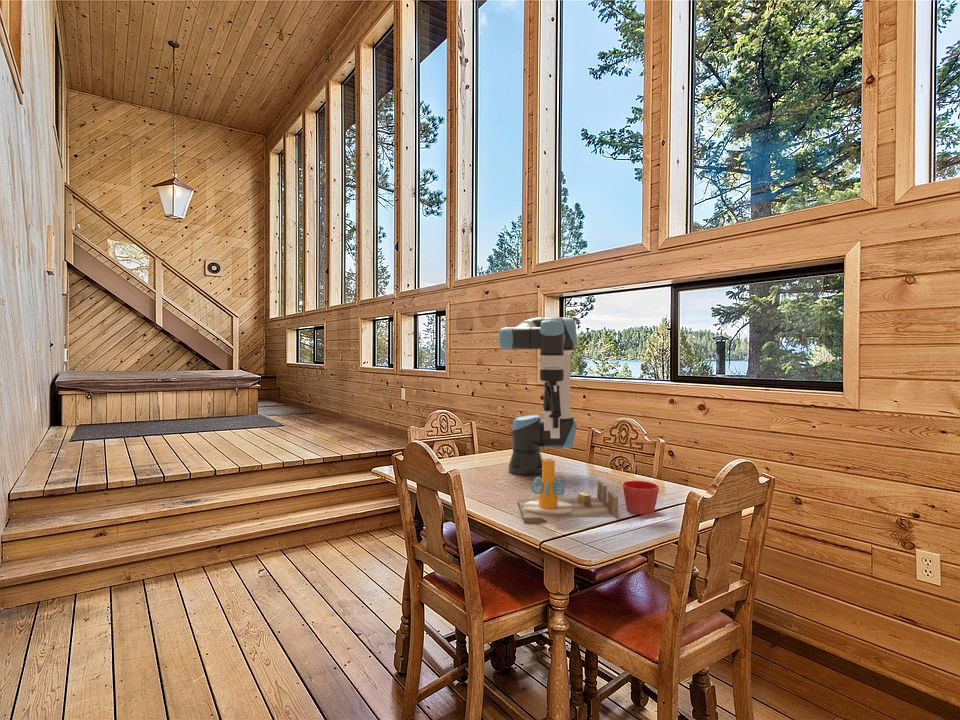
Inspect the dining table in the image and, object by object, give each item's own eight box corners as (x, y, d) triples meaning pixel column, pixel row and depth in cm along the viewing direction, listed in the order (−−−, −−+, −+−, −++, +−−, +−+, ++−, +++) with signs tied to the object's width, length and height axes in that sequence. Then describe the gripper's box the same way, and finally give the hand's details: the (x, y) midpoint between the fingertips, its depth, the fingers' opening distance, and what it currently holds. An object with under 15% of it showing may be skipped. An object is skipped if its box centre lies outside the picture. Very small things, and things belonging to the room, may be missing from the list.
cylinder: (563, 513, 163) (564, 465, 163) (530, 510, 165) (530, 463, 165) (565, 501, 175) (566, 456, 175) (534, 499, 177) (534, 455, 177)
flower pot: (633, 507, 174) (633, 478, 174) (664, 515, 166) (665, 484, 166) (615, 514, 167) (616, 484, 167) (647, 523, 159) (647, 491, 159)
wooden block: (577, 501, 176) (577, 492, 175) (584, 500, 177) (584, 492, 176) (584, 505, 172) (584, 496, 172) (590, 504, 173) (590, 495, 173)
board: (517, 502, 180) (517, 480, 179) (601, 501, 180) (602, 480, 180) (524, 522, 160) (524, 498, 159) (619, 521, 161) (619, 497, 160)
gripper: (535, 366, 182) (535, 427, 183) (546, 371, 157) (545, 441, 158) (556, 366, 182) (556, 427, 183) (571, 371, 157) (570, 441, 158)
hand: (551, 434), depth 171 cm, fingers open, 13 cm apart
